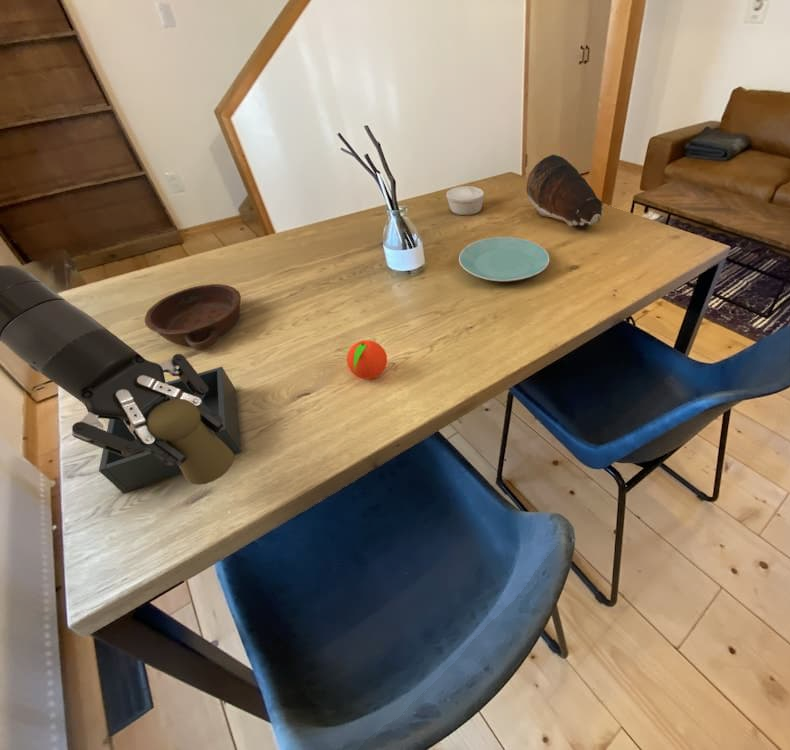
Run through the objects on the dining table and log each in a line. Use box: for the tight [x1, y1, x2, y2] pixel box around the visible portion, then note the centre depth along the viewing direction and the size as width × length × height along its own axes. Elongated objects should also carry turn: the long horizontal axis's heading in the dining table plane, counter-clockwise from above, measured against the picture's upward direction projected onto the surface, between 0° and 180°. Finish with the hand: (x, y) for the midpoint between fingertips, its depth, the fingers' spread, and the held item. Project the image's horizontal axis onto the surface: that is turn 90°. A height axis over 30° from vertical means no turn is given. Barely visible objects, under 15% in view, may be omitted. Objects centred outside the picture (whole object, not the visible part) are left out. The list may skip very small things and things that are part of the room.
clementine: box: [346, 339, 388, 380], centre depth 77 cm, size 8×7×7 cm
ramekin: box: [445, 185, 485, 216], centre depth 133 cm, size 11×11×5 cm
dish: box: [144, 283, 242, 351], centre depth 90 cm, size 18×22×5 cm
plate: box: [458, 236, 550, 283], centre depth 107 cm, size 22×22×3 cm
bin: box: [98, 366, 242, 494], centre depth 68 cm, size 16×16×6 cm
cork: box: [147, 399, 235, 486], centre depth 55 cm, size 6×6×11 cm
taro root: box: [525, 154, 605, 227], centre depth 124 cm, size 15×15×25 cm
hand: (202, 444), depth 55 cm, fingers closed on cork, 5 cm apart
